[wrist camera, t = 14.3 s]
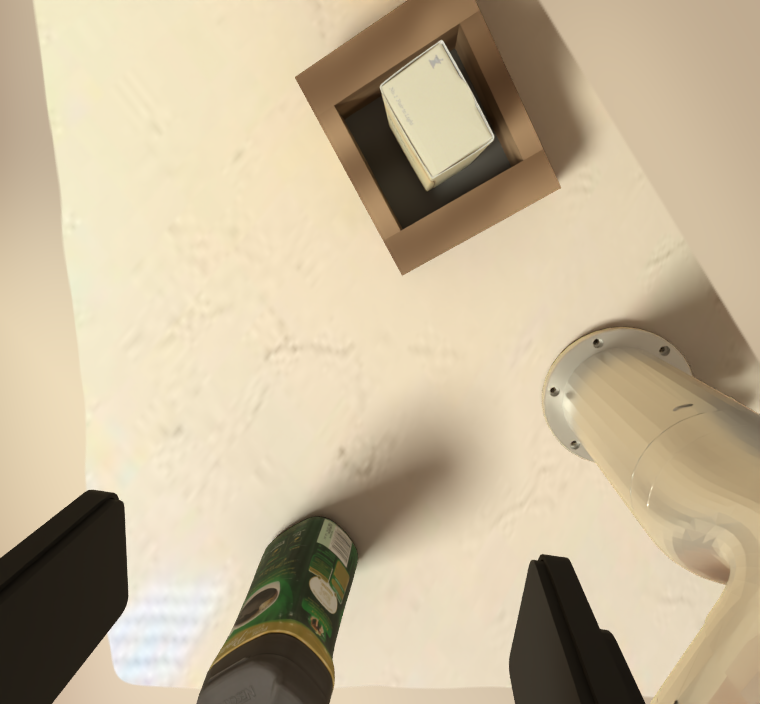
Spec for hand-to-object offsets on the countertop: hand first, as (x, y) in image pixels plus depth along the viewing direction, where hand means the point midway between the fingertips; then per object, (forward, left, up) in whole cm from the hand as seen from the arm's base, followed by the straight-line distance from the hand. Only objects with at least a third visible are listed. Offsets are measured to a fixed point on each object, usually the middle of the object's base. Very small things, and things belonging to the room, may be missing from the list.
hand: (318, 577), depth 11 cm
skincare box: (-1, -14, -33) cm, 36 cm away
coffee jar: (+6, +26, -34) cm, 43 cm away
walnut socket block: (-1, -14, -33) cm, 36 cm away
